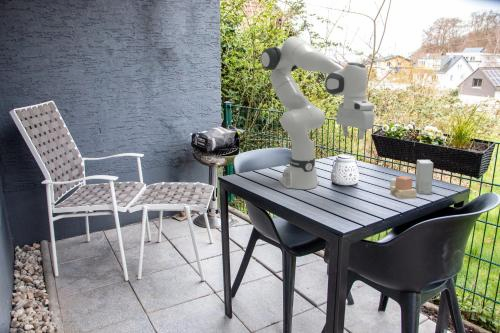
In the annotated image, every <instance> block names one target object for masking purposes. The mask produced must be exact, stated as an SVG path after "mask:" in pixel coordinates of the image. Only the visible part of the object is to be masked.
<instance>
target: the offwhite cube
mask: <svg viewBox="0 0 500 333" xmlns="http://www.w3.org/2000/svg"><path fill="white" fill-rule="evenodd" d="M395 183H396V177H393V178H391V179H390V180H389V190H391V186H395Z"/></svg>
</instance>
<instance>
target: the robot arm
mask: <svg viewBox="0 0 500 333" xmlns="http://www.w3.org/2000/svg"><path fill="white" fill-rule="evenodd" d="M260 62H261V66H262V67H263V68H264V70H268V71H271V73H270V76H269V79H270V83H271V85H272V88H273V90H274V93H275V94H276V96H277V98H278V99H279V101H280V104H281V105H282V107H284V108H285V109H288V110H287V111H285V112H283V114H282V115H281V117H280V125H281V127H282V129H283V130H284V131H285V132H286V133H287V134H288V137H289V138H290V144H291V157H290V158H289V161H290V162H289V165H288V166H287V167H286V168H285V169H284V170H283V172H282V177H280V178H278V181H279V183H280V184H281V185H282V186H283V187H285V188H286V189H296V190H311V189H315V188H317V186H318V185H319V181H318V174H317V173H318V171H317V168H316V158H315V143H314V141H313V140H312V139H310V136H309V132H308V131H311V130H316V129H319V128H320V127H322V126H323V125H324V124H325V122H326V114H325V112H324V111H323V109H322V108H319V107H318V106H315V105H314V104H313V103H312V102H311V101H310V100H309V99H308V98H307V97H306V96H305V95H304V94H303V92H302V91H301V89H300V88H299V86H298V84H297V82H296V81H295V79H294V78H293V76H292V73H291V72H294V71H296V70H297V68H299V69H301V70H303V71H305V72H318V73H319V72H320V73H324V74H327V76H326V78H325V82H324V87H325V88H324V89H325V90H326V92H327V93H328V94H330V95H332V96H343V102H341V103H340V104H339V105H338V107H337V111H336V120H335V122H336V124H337V125H339V126H340V125H341V128H342V132H343V134H342V135H343V136H344V137H349V135H350V131H349V130H348V128H349V127H350V128H354V129H355V128H357V129H358V130H359V134H357V139H358V140H364V135H365V133H366V130H371V129H373V127H374V123H375V122H374V121H375V113H374V109H375V104H374V103H373V102H371V101H369V100H368V99H367V93H366V89H367V85H368V70H367V67H366V65H364V64H362V63H358V62H357V63H356V62H349V63H347V64H345V66H343V65H342V64H340V63H339V62H337V61H336V60H334V59H332V58H330V57H329V56H327V55H325V53H323V52H321V51H319V50H318V49H317V48H316V47H314V46H313V45H311V44H310V43H309V42H308V41H306V40H304V39H303V38H300V37H297V36H289V37H288V38H286V39H285V40H284V42H283V44H282V45H278V46H273V47H272V46H270V47H268V48H265V49H264V50H263V51H262V52H261V54H260Z"/></svg>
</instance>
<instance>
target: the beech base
mask: <svg viewBox="0 0 500 333" xmlns="http://www.w3.org/2000/svg"><path fill="white" fill-rule="evenodd" d="M389 192H390V193H389V194H390V195H392V196H393V197H395V198H397V199H399V200H407V199H416V198H417V193H418V192H417V190H416V189H415V188H413V187H412V189H409V190H401V189H398V188H395V186H391V189H390V191H389Z"/></svg>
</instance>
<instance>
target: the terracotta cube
mask: <svg viewBox="0 0 500 333" xmlns="http://www.w3.org/2000/svg"><path fill="white" fill-rule="evenodd" d="M395 178H396V183H395V188H398V189H401V190H409V189H412V188H413V180H414V179H413V177H409V176H405V175H402V176H396V177H395Z"/></svg>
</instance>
